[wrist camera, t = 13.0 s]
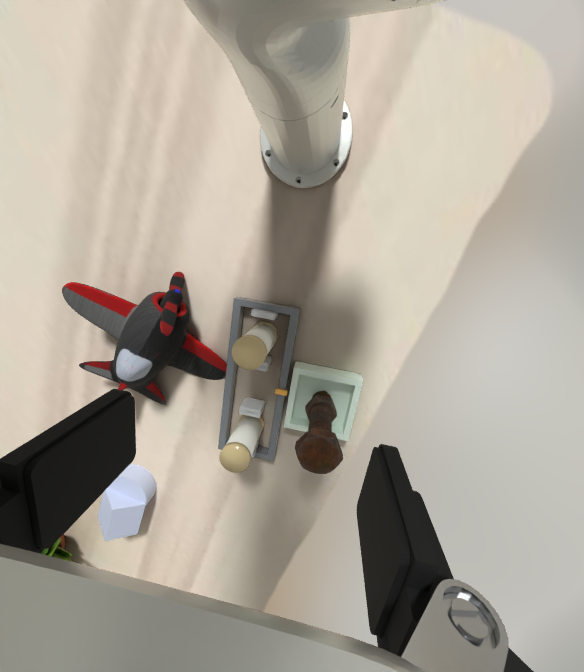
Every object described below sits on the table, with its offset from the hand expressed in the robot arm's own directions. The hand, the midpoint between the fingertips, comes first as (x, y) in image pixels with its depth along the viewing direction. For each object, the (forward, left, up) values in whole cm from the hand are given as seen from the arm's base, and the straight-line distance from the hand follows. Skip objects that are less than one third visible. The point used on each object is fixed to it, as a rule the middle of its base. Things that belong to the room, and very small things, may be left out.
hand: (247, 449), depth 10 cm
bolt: (+14, +5, -35) cm, 38 cm away
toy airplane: (+10, -25, -35) cm, 44 cm away
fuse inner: (+5, -7, -35) cm, 36 cm away
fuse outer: (+22, -7, -35) cm, 42 cm away
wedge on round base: (+44, -30, -35) cm, 64 cm away
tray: (+14, +5, -35) cm, 38 cm away
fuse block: (+14, -7, -35) cm, 38 cm away
